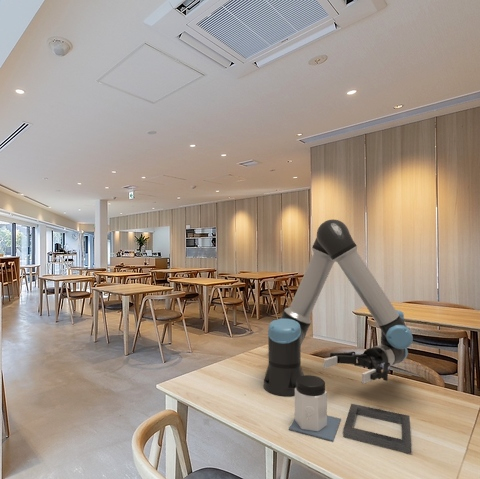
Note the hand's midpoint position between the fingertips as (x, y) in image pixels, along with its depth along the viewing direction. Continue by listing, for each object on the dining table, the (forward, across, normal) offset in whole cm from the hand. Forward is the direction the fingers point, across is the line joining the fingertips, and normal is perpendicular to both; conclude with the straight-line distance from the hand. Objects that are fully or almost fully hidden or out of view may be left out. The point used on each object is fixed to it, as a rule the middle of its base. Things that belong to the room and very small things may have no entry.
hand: (342, 370), depth 98 cm
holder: (0, -12, -12) cm, 17 cm away
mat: (+12, 0, -13) cm, 18 cm away
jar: (+13, +1, -13) cm, 18 cm away
